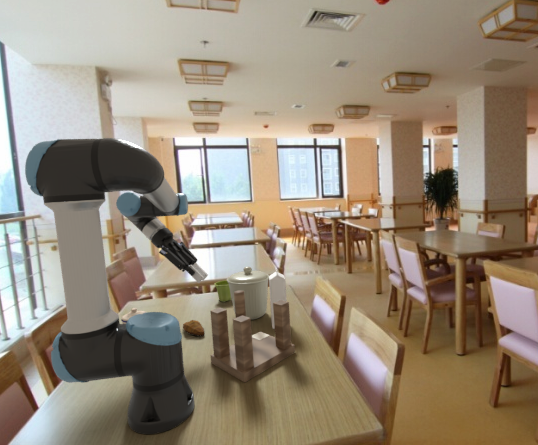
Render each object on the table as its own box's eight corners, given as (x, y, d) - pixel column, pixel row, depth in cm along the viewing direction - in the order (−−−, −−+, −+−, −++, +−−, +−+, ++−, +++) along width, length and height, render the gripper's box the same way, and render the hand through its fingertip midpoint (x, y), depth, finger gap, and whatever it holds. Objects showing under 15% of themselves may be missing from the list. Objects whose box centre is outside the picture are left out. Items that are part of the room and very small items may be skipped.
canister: (221, 316, 135) (217, 268, 133) (253, 304, 147) (250, 260, 145) (247, 327, 122) (243, 274, 120) (280, 314, 134) (277, 265, 132)
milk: (286, 321, 125) (283, 267, 124) (288, 327, 119) (285, 270, 118) (271, 322, 125) (268, 268, 123) (272, 329, 119) (269, 271, 117)
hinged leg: (247, 344, 101) (244, 300, 100) (236, 345, 101) (232, 301, 100) (247, 330, 112) (244, 290, 111) (236, 331, 112) (233, 291, 111)
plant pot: (213, 303, 153) (211, 285, 152) (219, 296, 162) (218, 280, 162) (231, 303, 152) (230, 285, 151) (236, 296, 161) (235, 280, 160)
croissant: (176, 331, 123) (175, 318, 123) (191, 325, 128) (190, 313, 127) (195, 341, 113) (193, 327, 113) (210, 334, 118) (209, 321, 118)
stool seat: (244, 382, 86) (240, 323, 84) (211, 362, 97) (206, 310, 96) (295, 352, 100) (292, 301, 99) (260, 338, 112) (257, 293, 110)
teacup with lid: (124, 347, 112) (120, 315, 111) (123, 337, 120) (120, 307, 119) (159, 338, 117) (156, 307, 116) (156, 329, 125) (153, 301, 124)
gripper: (165, 238, 124) (207, 280, 121) (139, 244, 109) (186, 293, 106) (176, 224, 122) (218, 266, 119) (150, 229, 107) (199, 277, 104)
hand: (203, 278), depth 112 cm, fingers open, 3 cm apart
